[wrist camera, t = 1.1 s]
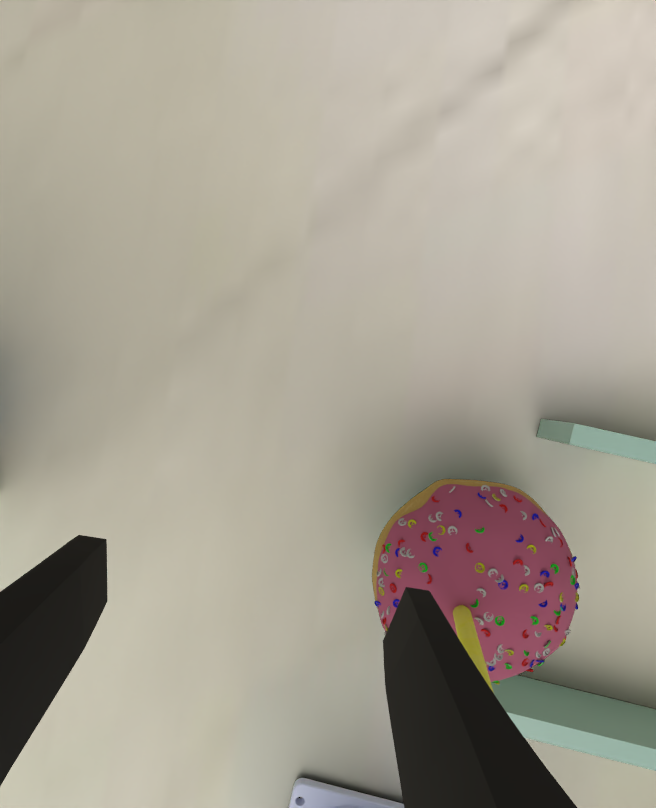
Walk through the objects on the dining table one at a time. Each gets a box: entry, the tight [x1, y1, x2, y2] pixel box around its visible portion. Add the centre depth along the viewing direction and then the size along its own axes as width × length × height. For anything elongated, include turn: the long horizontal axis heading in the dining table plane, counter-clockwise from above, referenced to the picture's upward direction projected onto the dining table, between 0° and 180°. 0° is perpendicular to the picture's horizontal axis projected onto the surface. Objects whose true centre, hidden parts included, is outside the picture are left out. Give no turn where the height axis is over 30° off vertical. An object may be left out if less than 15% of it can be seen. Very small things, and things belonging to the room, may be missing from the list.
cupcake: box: [372, 479, 580, 693], centre depth 15 cm, size 9×8×12 cm
